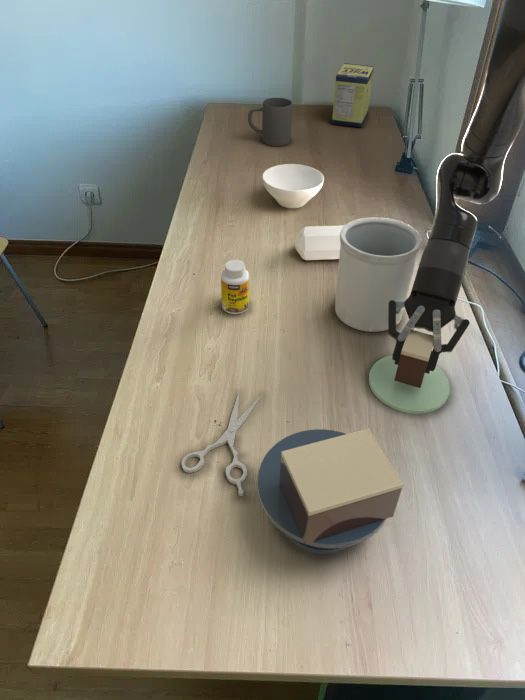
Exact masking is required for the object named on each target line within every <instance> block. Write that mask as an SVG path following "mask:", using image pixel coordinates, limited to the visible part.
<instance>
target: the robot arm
mask: <svg viewBox="0 0 525 700" xmlns="http://www.w3.org/2000/svg"><path fill="white" fill-rule="evenodd" d="M496 25H497V26H496V30H495V34H494V39H493V44H492V48H491V51H490V55H489V61H488V65H487V70H486V74H485V80H484V84H483V87H482V91H481V94H480V97H479V100H478V103H477V105H476V109H475V111H474V113H473V115H472V117H471V120H470V122H469V125H468V127H467V129H466V132H465V134H464V136H463V139H462V142H461V153H457V152H454V153H451V154H448V155H447V156H446V157H444V159H442V161H441V162H440V164H439V166H438V169H437V172H436V173H437V174H436V186H435V187H436V204H435V212H434V213H435V214H434V219H433V221H432V222H433V223H432V226H431V229H430V233H429V237H428V240H427V243H426V245H425V247H424V250H423V252H422V254H421V257H420V261H419V263H418V268H417V270H416V275H415V278H414V280H413V284H412V287H411V291H410V293H409V295H408V296H407V299H406V301H405V302H395V301H394V300H391V301H389V308H388V330H387V331H388V332H387V333H388V335H389V337H391V338H393V339H394V340H395V345H394V348H393V351H392V354H391V355H392V359H393V360H395V363H394V364H396V365H398V363H399V359H400V355H401V351H402V348H403V345H404V343H405V340H406V337H407V336H408V335H409V333H410V332H411V331H412V330H415V329H418V330H419V329H420V330H426V331H427V332H431V333H432V335H433V340H434V344H433V348H432V351H431V354H430V358H429V361H428V364H427V368H426V371H425V373H427V374H429V372H430V371H434V370H435V367H436V366H437V364H438V361H439V357H440V354H442V353H451V352H453V350H454V349H455V347H456V345H457V344H458V343H459V341H460V339H462V336H463V335H464V333H465V332H466V330H467V328H468V327H469V326H470V320H469V319H467V318H464V317H461V316H459V315H458V314H457V312H456V305H457V300H458V297H459V294H460V291H461V287H462V284H463V280H464V277H465V275H466V270H467V266H468V263H469V257H470V256H469V255H470V251H471V249H472V244H473V241H474V238H475V235H476V231H477V229H478V219H477V217H476V216H475V215H474V214H473V213H471V212H470V211H468V210H465V209H464V208H462V207H461V206H460V205H458V204H457V203H456V200H455V199H458V200H461V201H466V202H470V203H473V204H478V205H484V204H487V203H489V202H492V201H493V200H494V199H495V198H496V197H497V196H498V195H499V192H500V190H501V188H502V187H501V186H502V182H503V175H504V165H505V160H506V158H507V155H508V153H509V152H510V149H511V147H512V145H513V144H514V142H515V140H516V138H517V136H518V134H519V133H520V131H521V128H522V127H523V124H524V121H525V0H503V3H502V7H501V9H500V13H499V16H498V21H497V24H496ZM403 308H404V310H405V311H406V312H405V313H406V314H407V317H408V321H407V323H406V324H405V325H404V327H403V329H402V330H401V331H400V332H399V331H398V330H397V325H396V315H397V314H400V313H401V310H402V309H403ZM452 321H453V322H454V324H453V329H454V330H455V332H454V333H453V334H452V336H451V338H450V339H449V340H448V342H447V343H444V344H442V329H443V328H444V327H445V326H447V325H448V324H449V323H451V322H452Z"/></svg>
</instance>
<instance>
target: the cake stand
mask: <svg viewBox="0 0 525 700" xmlns="http://www.w3.org/2000/svg"><path fill="white" fill-rule="evenodd" d="M394 468H395V467H393V465H392V464H391V462H390V460H389V459H388V457H387V456H386V453H385V452H384V450H383V449H382V447H381V446H380V444H379V442H378V441H377V440H376V438H375V436H374V434H373V433H372V431H371V430H370V428H365V429H361V430H358V431H353V432H350V433H345V432H342V431H338V430H333V429H322V428H321V429H318V428H315V429H306V430H301V431H298V432H295V433H292V434H290V435H288V436H286V437H284V438H282V439H280V440H279V441H277V443H275V444H274V445H273V446H272V447H271V448H269V450H268V451H267V453H266V454H265V455H264V457H263V458H262V461H261V462H260V466H259V469H258V473H257V494H258V499H259V502H260V506H261V507H262V509H263V511H264V513H265V514H266V516H267V518H268V519H269V520H270V521H271V522H272V524H273V525H274V526H275V527H276V528H277V529H278V530H280V531H281V533H283V534H284V535H285V536H286V538H287V539H288V540H289V541H290V542H291V543H292V544H294V545H295V546H297V548H299V549H301V550H304V551H306V552H308V553H312V554H317V555H331V554H335V553H340V552H342V551H344V550H346V549H348V548H349V547H351V546H355V545H358V544H361V543H363V542H365V541H367V540H368V539H370V538H371V537H373V536H374V535H375V534H377V533H378V532H379V531H380V530H381V528H383V526H384V525H385V524H386V522H387V521H388V519H390V518H393V517H394V515H395V512H396V509H397V506H398V502H399V499H400V496H401V493H402V490H403V487H404V483H403V482H402V479H401V478H400V476H399V475H398V473H397V471H396V470H395V469H394Z"/></svg>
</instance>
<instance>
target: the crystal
mask: <svg viewBox="0 0 525 700" xmlns="http://www.w3.org/2000/svg"><path fill="white" fill-rule="evenodd" d="M345 225H346V224H344V225H311V226H304V227H302V228H301V229H300V230H299V232H298V234H297V235H296V237H295V238H294V249H295V250H296V252H297V253H298V255H299V256H300V258H301V259H302V260H305V261H319V260H320V261H321V260H339V256H340V246H341V243H340V233H341V230H342V228H343V227H344V226H345Z"/></svg>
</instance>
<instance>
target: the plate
mask: <svg viewBox="0 0 525 700" xmlns="http://www.w3.org/2000/svg"><path fill="white" fill-rule="evenodd" d="M392 355H393V354H391V355H387V356H384V357H382V358H380V359H378V360H377V361H376V362H374V363H373V364H372V365H371V368H370V370H369V373H368V386H369V388H370V390H371V392H372V393H373V395H374V397H375V398H377V400H378V401H380V402H381V403H382V404H383V405H386V406H387V407H388V408H390V409H392V410H395V411H398V412H402V413H405V414H415V415H419V414H420V415H421V414H427V413H431V412H434V411H436V410H438V409H440V408H441V407H442V406H443V405H444V404H445V403H446V402H447V401H448V398H449V395H450V391H451V386H450V384H451V383H450V380H449V379H448V377H447V375H446V373H444V371H443V370H442V369H441V368H440V367H439V366H437V365H436V367H435V370H434V371H430V372H429V374H427V373H425V375H424V378H423V381H422V384H421V388H418V387H414V386H411V385H408V384H404V383H401V382H398V381H394V379H395V375H396V371H397V367H398V365H396V364H394V363H395V360H393V359H392Z"/></svg>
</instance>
